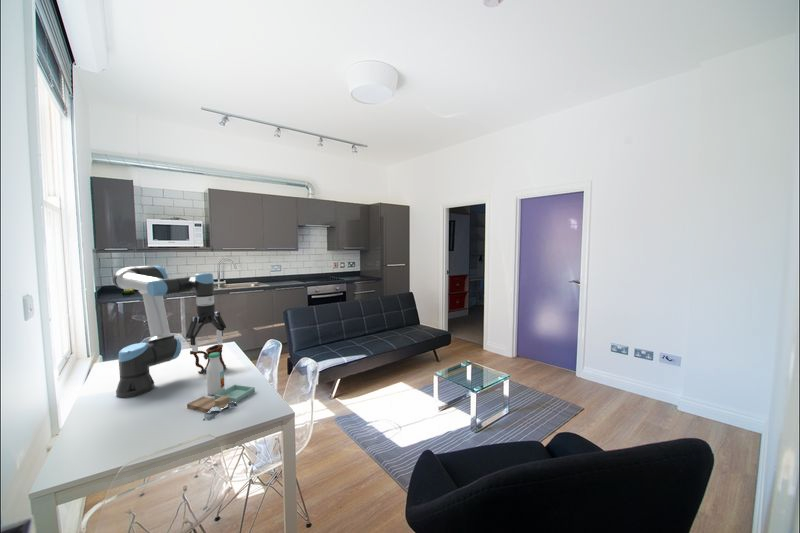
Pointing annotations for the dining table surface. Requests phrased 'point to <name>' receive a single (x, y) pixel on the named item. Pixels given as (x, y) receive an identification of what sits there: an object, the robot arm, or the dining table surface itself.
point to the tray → (236, 392)
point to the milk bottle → (215, 375)
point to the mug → (206, 356)
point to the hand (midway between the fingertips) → (207, 347)
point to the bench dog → (222, 401)
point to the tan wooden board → (202, 404)
